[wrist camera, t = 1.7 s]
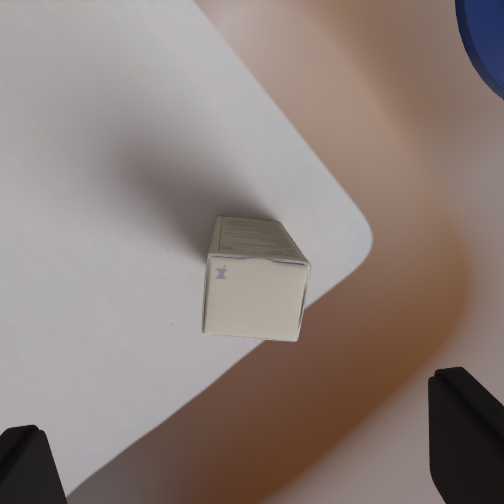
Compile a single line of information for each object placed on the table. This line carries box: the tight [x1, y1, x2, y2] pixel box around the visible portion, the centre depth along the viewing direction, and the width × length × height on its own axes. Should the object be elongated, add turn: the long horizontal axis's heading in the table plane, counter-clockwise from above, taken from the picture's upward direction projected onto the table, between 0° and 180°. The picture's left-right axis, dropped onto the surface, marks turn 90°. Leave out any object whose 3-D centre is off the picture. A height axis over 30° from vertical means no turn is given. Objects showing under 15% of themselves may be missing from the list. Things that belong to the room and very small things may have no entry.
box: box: [202, 216, 311, 341], centre depth 24 cm, size 5×4×11 cm
